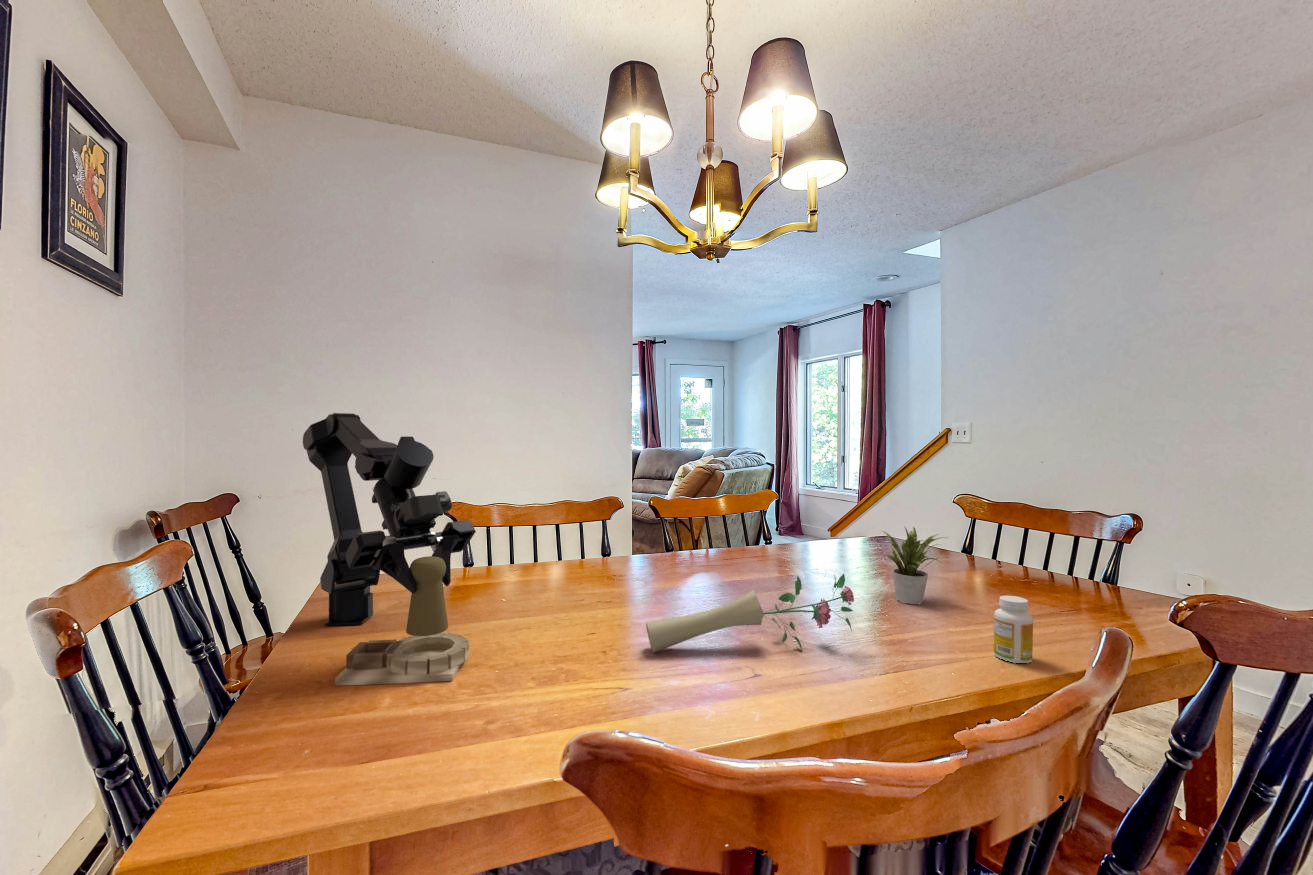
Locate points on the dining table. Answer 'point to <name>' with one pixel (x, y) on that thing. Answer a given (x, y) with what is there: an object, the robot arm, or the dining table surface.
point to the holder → (405, 660)
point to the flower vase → (737, 617)
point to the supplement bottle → (1013, 630)
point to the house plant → (910, 567)
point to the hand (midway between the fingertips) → (431, 588)
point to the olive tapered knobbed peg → (427, 598)
